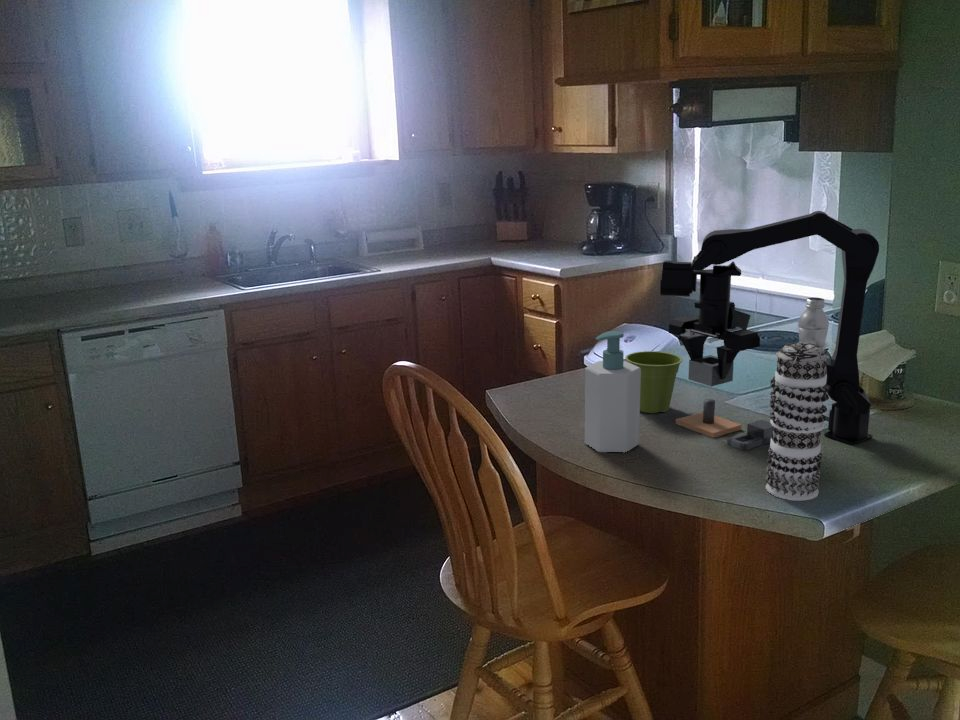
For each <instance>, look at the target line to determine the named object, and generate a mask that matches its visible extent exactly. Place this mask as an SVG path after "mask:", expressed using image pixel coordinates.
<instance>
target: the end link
mask: <svg viewBox="0 0 960 720" xmlns="http://www.w3.org/2000/svg"><path fill="white" fill-rule="evenodd" d="M734 361H735V360H734ZM734 361H733V363H732V365H731V368H730V370H729V372H728V374H727V377H726V378H725V379H721V378H720V373H719V365H718V356H715V355H713V354H712V355H711V354H708V355H703V357H700V358H695V359H689V361H688V377H687V379H688V380H689V381H692V382H696V383H699V384H702V385H705V386H709V387H714V386H718V385H723V384H726V383H730V382H733V378H734V364H735V363H734Z"/></svg>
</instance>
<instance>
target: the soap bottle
mask: <svg viewBox="0 0 960 720" xmlns="http://www.w3.org/2000/svg"><path fill="white" fill-rule="evenodd" d="M623 337H624V333H623V332H621V331H617V330H612V331H611V330H609V331H605V332H603V333H601V334H599V335H597V336H596V337H595V340H596V341H597V342H600V341H604V340H607V344H606V345H607V346H606V347H607V348H606V349H603V351H602V360H598V361H596V362H594V363H592V364H590V365H588V366H586V367H585V368H584V369H585V371H584V372H585V375H584V376H585V377H584V385H585V386H584V444H585V445H587V446H588V445H589V446H588V447H590V448H591V447H592V448H591V449H592V450H593V449H595V451H596V452H597V453H607V452H623V453H622V454H626V453H627V451H628V452H629V451H631V450H632V449H634V448H635V447H636V446H638V445H639V444H640V417H641V416H640V414H641V411H640V383H641V369H640V367H637V366H635V365H633V364H631V363H629V362H628V361H627V360H624V355H625V354H624V350H621V349H620V342H621V340H620V339H621V338H623ZM625 452H626V453H625Z"/></svg>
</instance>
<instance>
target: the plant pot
mask: <svg viewBox="0 0 960 720" xmlns="http://www.w3.org/2000/svg"><path fill="white" fill-rule="evenodd" d="M625 361H626V362H629V363H631V364H633V365H635V366H637V367H640V369H641V383H640V413H641V412H642V413H646V414H647V413H648V414H657V413H659V412H662V413H665V412H667V411H668V410H669V409H670V405H671V400H672V396H673V390H674V387H675V382H676V378H677V374H678V373H679V369H680V364H681V363H683V357H681V356H680V355H677V354H674V353H670V352H664V351H657V350H656V351H655V350H652V351H651V350H645V351H637V352H632V353H629V354H627V355H626V356H625Z"/></svg>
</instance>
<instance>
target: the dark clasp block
mask: <svg viewBox="0 0 960 720" xmlns="http://www.w3.org/2000/svg"><path fill="white" fill-rule="evenodd" d="M746 425H747V426H746V432H744V433H741V434H738V435H735V436H731V437H728V438H727V439H726V445H728V446H730V447H732V448H736V449H738V450H740V451H743V452H744V451H746V450H749V449H753V448H757V447H759V446H762V445H766V444H768V443H770V441H771V438H772V429H773V426H772V425H771V423H770V421H766V420H765V419H760V420H756V421H753V422H749V423H747V424H746Z"/></svg>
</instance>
